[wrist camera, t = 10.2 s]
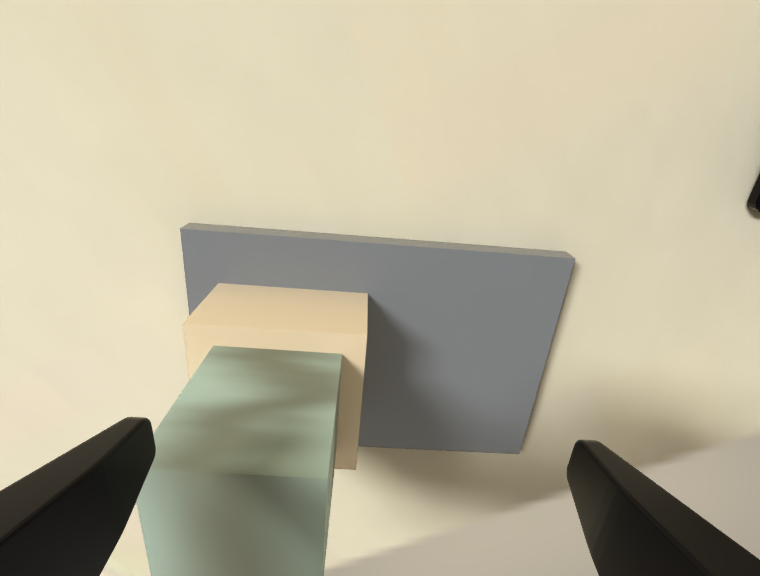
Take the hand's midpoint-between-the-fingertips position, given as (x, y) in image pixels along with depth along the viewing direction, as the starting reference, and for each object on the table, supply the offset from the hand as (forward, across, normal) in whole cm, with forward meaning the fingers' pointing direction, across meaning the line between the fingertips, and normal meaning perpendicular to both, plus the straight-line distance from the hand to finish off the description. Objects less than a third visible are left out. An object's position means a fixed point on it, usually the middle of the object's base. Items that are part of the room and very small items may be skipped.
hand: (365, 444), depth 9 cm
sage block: (+7, +4, +5) cm, 9 cm away
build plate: (+12, 0, +5) cm, 13 cm away
